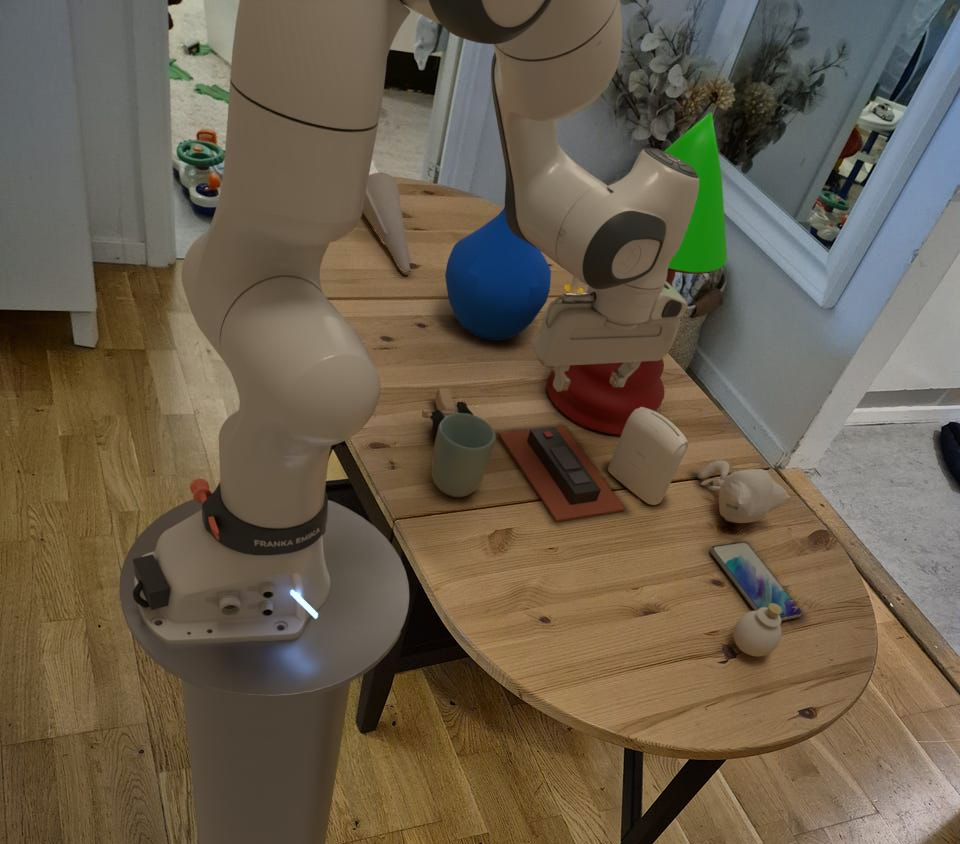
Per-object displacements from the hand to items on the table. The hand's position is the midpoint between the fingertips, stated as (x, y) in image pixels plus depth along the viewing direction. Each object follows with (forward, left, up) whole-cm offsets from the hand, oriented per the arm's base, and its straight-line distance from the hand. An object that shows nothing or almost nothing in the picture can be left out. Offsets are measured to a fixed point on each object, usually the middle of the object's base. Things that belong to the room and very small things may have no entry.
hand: (588, 387), depth 114 cm
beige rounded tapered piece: (+25, -12, -16) cm, 32 cm away
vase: (+7, +40, -16) cm, 44 cm away
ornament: (+11, -38, -16) cm, 42 cm away
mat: (+1, 0, -16) cm, 16 cm away
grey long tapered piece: (+1, +70, -16) cm, 72 cm away
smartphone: (+19, -28, -16) cm, 37 cm away
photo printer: (+12, -5, -16) cm, 20 cm away
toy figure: (-13, +12, -16) cm, 24 cm away
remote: (+1, 0, -15) cm, 15 cm away
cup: (-17, 0, -16) cm, 23 cm away
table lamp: (+18, +16, -16) cm, 29 cm away
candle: (+25, +42, -16) cm, 51 cm away
